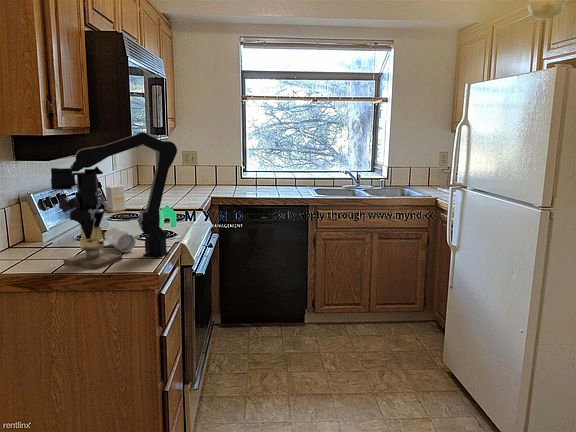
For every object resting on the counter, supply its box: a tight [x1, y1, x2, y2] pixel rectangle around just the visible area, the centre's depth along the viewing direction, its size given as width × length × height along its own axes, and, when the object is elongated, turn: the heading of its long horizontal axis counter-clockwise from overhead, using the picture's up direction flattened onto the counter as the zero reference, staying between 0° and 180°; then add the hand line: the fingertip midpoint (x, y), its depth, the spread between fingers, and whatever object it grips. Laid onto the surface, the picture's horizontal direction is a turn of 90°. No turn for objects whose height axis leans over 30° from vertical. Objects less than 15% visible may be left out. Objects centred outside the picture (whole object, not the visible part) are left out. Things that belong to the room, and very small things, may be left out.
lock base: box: [62, 249, 123, 270], centre depth 150 cm, size 14×11×4 cm
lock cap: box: [79, 225, 105, 252], centre depth 149 cm, size 8×7×7 cm
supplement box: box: [105, 184, 127, 213], centre depth 240 cm, size 8×5×13 cm, turn 149°
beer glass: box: [104, 227, 137, 253], centre depth 168 cm, size 7×7×15 cm
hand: (91, 236), depth 149 cm, fingers open, 6 cm apart
